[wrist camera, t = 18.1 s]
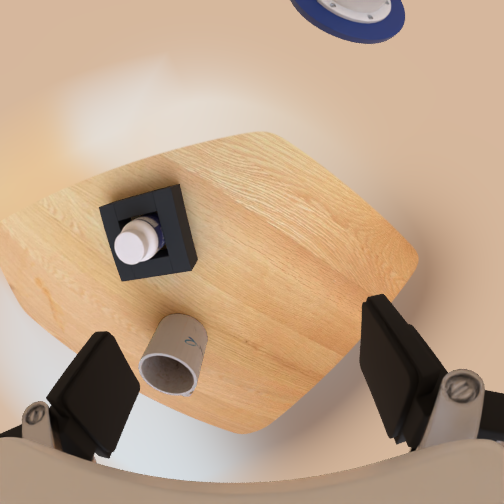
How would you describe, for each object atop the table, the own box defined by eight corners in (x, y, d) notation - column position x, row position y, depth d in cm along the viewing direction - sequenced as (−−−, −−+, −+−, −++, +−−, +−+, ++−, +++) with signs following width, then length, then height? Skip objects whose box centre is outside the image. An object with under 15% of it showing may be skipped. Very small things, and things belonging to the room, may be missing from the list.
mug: (154, 311, 41) (132, 349, 32) (205, 315, 41) (193, 356, 32) (166, 366, 46) (151, 405, 36) (211, 370, 45) (203, 412, 36)
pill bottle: (167, 251, 38) (144, 276, 30) (135, 240, 37) (106, 261, 29) (175, 217, 36) (153, 234, 28) (142, 206, 36) (112, 220, 27)
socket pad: (179, 183, 35) (170, 187, 31) (197, 259, 38) (191, 270, 34) (112, 202, 36) (98, 207, 32) (132, 270, 39) (121, 281, 35)
